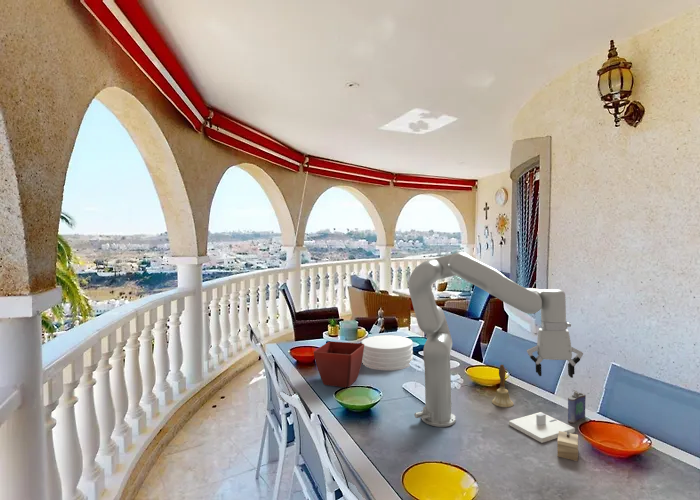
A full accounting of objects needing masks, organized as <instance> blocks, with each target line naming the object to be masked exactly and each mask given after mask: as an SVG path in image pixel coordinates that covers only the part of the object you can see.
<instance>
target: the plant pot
mask: <svg viewBox="0 0 700 500" xmlns="http://www.w3.org/2000/svg"><path fill="white" fill-rule="evenodd" d="M363 352H364V344H362V343H360V342H358V343H356V342H344V341H332V340H331V341H328V342H327V343H325V344H322V345H321V346H320V347H318V348H317V349H315V350H313V356H314V361H315V365H316V368H317V371H318V374H319V376H320V379H321V382H322V383H323V385H324V386H331V387H336V388H337V387H339V388H346V387H347V388H349V387H350V386H352V385H353V384H354V382H356V380H358V378H359V375H360V370H361V368H362V358H363ZM348 386H349V387H348Z"/></svg>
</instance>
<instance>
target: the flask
mask: <svg viewBox="0 0 700 500" xmlns="http://www.w3.org/2000/svg"><path fill="white" fill-rule="evenodd" d="M572 392H573V394H571V395H570V396H569V397H567V422H568V424H569V423H570V424H576V423H579V422H580V421H582V420H584V419H586V394H585V393H583V392H579V391H577V390H576V389H575V390H572Z"/></svg>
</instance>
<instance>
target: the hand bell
mask: <svg viewBox="0 0 700 500" xmlns="http://www.w3.org/2000/svg"><path fill="white" fill-rule="evenodd" d="M506 375H507V374H506V368H505V366H504V364H500V366H499V368H498V376H499V379H500V381H499V382H500V385H499V388H498V389H496V394H495V396H494V398H493V399H492V400H491V403H492V404H493V405H494V406H496V407H500V408H512V407H514V405H515V404H514V401H513V400H511V397H510V393H509V390H508V389H507V388H506V387H505V379H506Z"/></svg>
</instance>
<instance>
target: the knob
mask: <svg viewBox="0 0 700 500" xmlns="http://www.w3.org/2000/svg"><path fill="white" fill-rule="evenodd" d="M556 446H557V457H558V458H562V459H567V460H571V461H574V462H575V461H576V462H578V460H579V434H575V433H570V432H568V431H567V432H562V431H559V433H558V438H557V445H556Z"/></svg>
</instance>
